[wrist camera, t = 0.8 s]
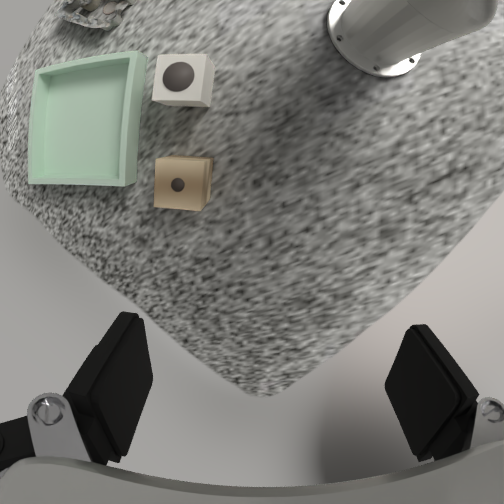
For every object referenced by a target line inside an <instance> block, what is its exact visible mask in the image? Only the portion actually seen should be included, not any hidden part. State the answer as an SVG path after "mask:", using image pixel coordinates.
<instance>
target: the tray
mask: <svg viewBox="0 0 504 504" xmlns="http://www.w3.org/2000/svg"><path fill="white" fill-rule="evenodd" d="M147 63H148V57H147V56H146V55H144V54H143V53H141V52H139V51H138V50H137V51H127V52H119V53H112V54H105V55H99V56H93V57H87V58H82V59H77V60H72V61H68V62H64V63H59V64H55V65H51V66H48V67H44V68H40V69H37V70H35V76H34V83H33V90H32V98H31V108H30V119H29V136H28V184H68V185H101V186H123V187H125V186H128V185H130V184H132V183H135V182H137V159H138V142H139V129H140V118H141V108H142V99H143V91H144V83H145V76H146V69H147Z"/></svg>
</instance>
